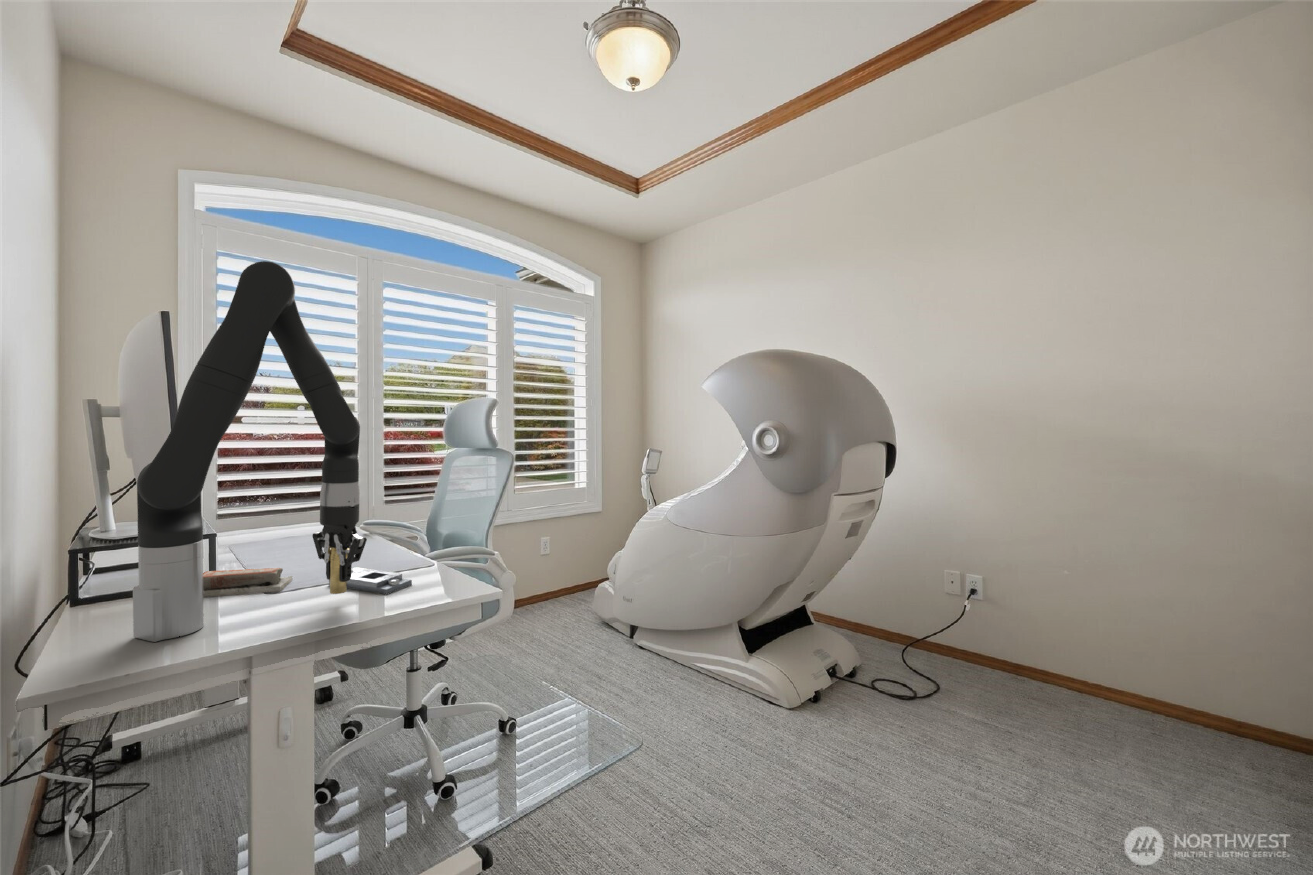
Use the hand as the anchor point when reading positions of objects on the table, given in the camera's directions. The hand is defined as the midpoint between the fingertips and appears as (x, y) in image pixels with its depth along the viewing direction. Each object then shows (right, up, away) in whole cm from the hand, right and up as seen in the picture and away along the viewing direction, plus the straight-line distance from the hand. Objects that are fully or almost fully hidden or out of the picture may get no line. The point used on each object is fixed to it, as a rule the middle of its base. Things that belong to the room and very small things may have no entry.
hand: (338, 579), depth 121 cm
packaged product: (-29, -5, +10) cm, 31 cm away
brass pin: (0, -3, 0) cm, 3 cm away
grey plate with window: (0, -5, +14) cm, 15 cm away
